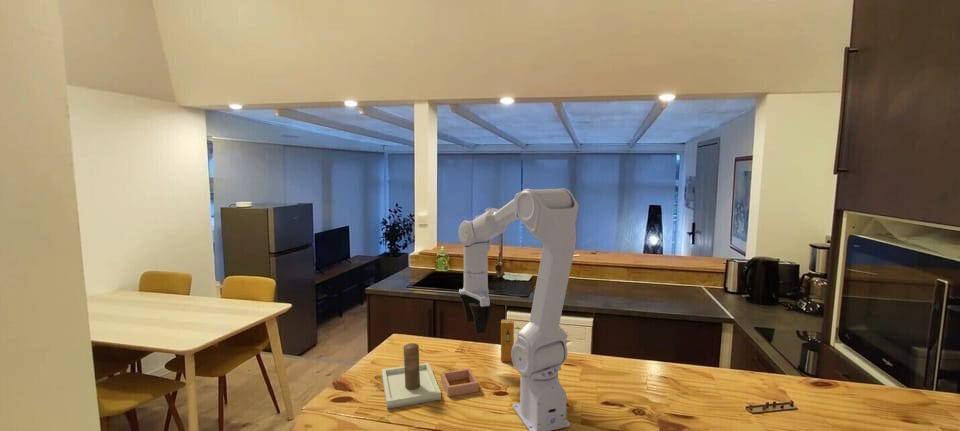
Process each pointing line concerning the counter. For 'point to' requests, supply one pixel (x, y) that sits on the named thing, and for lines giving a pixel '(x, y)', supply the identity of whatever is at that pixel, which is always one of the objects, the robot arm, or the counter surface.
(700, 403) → the counter surface
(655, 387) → the counter surface
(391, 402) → the tray
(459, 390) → the holder
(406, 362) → the dowel
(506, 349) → the supplement box
